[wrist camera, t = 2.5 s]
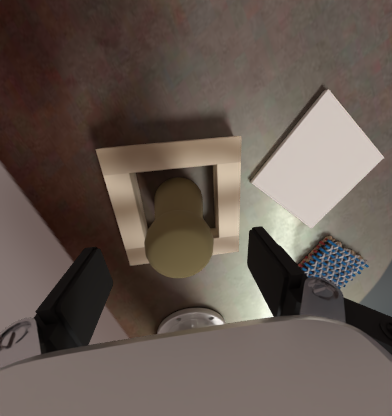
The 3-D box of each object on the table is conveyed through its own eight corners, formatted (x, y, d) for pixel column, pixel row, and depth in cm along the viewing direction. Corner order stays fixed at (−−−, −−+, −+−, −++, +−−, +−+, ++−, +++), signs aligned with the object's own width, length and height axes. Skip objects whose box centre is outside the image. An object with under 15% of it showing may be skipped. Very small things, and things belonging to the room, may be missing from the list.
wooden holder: (232, 240, 25) (238, 251, 22) (134, 253, 24) (130, 265, 22) (233, 136, 19) (241, 136, 17) (105, 147, 18) (95, 149, 16)
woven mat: (318, 296, 32) (326, 306, 31) (278, 277, 29) (285, 286, 28) (362, 256, 29) (375, 265, 28) (323, 230, 26) (335, 238, 25)
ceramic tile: (308, 226, 25) (311, 228, 25) (249, 181, 21) (251, 183, 21) (378, 156, 22) (384, 157, 21) (323, 90, 18) (328, 89, 18)
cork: (144, 191, 21) (113, 244, 11) (189, 168, 20) (201, 202, 10) (169, 229, 23) (163, 302, 13) (210, 209, 22) (236, 271, 12)
